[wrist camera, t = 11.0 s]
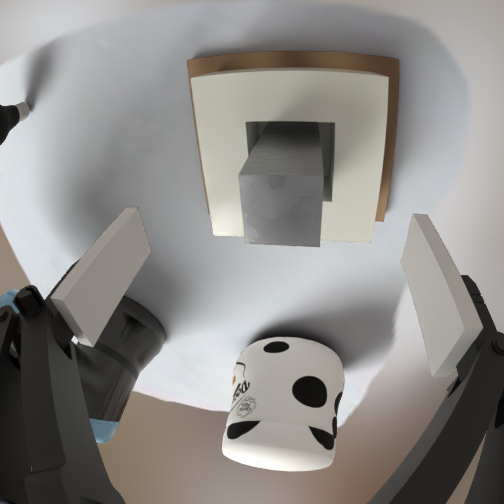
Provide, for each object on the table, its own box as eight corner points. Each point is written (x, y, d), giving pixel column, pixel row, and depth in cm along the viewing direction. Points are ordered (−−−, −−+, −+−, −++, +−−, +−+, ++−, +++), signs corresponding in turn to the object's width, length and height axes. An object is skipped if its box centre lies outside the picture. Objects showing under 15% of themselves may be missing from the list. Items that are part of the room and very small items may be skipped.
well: (230, 201, 30) (213, 235, 25) (215, 71, 22) (190, 78, 17) (361, 206, 28) (371, 243, 23) (370, 71, 20) (388, 77, 15)
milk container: (219, 338, 47) (187, 440, 33) (319, 312, 39) (310, 441, 25) (271, 386, 55) (256, 471, 41) (357, 370, 47) (355, 468, 33)
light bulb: (45, 123, 28) (-13, 155, 20) (22, 132, 29) (-31, 164, 22) (36, 82, 25) (-25, 106, 17) (13, 95, 26) (-43, 122, 18)
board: (212, 208, 32) (208, 214, 31) (191, 59, 23) (186, 59, 22) (381, 215, 29) (383, 221, 28) (395, 58, 19) (399, 59, 18)
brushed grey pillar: (271, 163, 26) (244, 243, 16) (269, 120, 23) (238, 174, 14) (317, 164, 25) (319, 247, 16) (317, 120, 23) (323, 176, 13)
